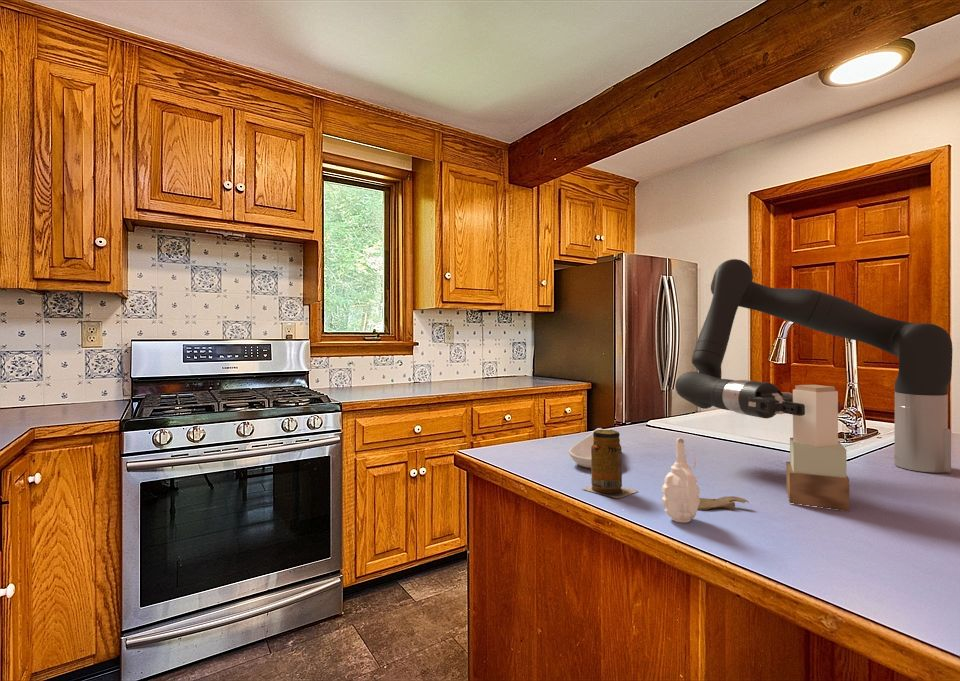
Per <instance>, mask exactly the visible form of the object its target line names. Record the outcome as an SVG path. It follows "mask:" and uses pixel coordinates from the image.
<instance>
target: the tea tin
mask: <svg viewBox="0 0 960 681" xmlns="http://www.w3.org/2000/svg"><path fill="white" fill-rule="evenodd" d="M794 387H795V388H794V389H792V394H793V402H794V403H801V404H804V405H805V415H803V416H798V415H792V438H793V442H797V443H801V444H806V445H810V446H814V447H823V446H835V445H838V441H839V413H838V402H839V395H838V394H839V391H838V390H836V386H829V385H819V384H798V385H796V384H795V386H794Z"/></svg>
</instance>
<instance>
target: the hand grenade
mask: <svg viewBox="0 0 960 681" xmlns="http://www.w3.org/2000/svg"><path fill="white" fill-rule="evenodd" d="M675 442H676V443H675V444H676V445H675V446H676V448H675V449H676V457H675V459H676V461H675V462H674V463H673V465H671V466H670V471H669V472H668V473H667V474H666V476H664V480H663V482H664V483H663V485H661V486H662V487H661V493H662V494H663V497H661V502H662V503H661V504H662V506H663V507H665V509H664V512H665V515H667V516H668V517H670V518H671V520H672V521H674V522H677V523H681V524H682V523H684V524H685V523H689V522H691V521H692V519H695V517H696V516H697V511H699V510H698V506H699V503H700V499H699V498H700V497H699V494H700V493H701V491H700V486H698V485H697V483H698V480H697V477H696V476H695V475H694V472H693V471H692V470H694V469H695V467H696V465H697V460H696V457H695V455H694V453H692V451H687V452H686V453H685V451H686V450H685V439H684V438H680V437H678V438H676V441H675ZM688 454H691V455H692V457H693V459H694V462H693V466H692V467H690V466H689V464H688V461H687V455H688ZM698 497H699V498H698Z"/></svg>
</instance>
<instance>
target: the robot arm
mask: <svg viewBox="0 0 960 681" xmlns="http://www.w3.org/2000/svg"><path fill="white" fill-rule="evenodd" d="M753 274H754V273H753V270H752V268H751V266H750V265H749V263H747V262H746V261H744V260H742V259H738V258H737V259H736V258H731V259H727V260H725V261H723V262H722V263H720V265H719V266H718V267H717V268H716V269H715V271H714V273H713V277H712V279H711V284H710V292H711V294H712V299H711V302H710V307H709V309H708V312H707V315H706V317H705V320H704V323H703V325H702V327H701V330H700V332H699V335H698V338H697V341H696V344H695V347H694V350H693V352H692V357H691V364H692V365H693V366H694V367H695V368H696V369H697V371H686V372H684V373H682V374H680V376H678V378H677V379H676V382H675V387H674V388H675V391H676V393H677V395H679V397H681V398H682V399H684V400H685V401H687V402H689V403H691V404H693V405H694V406H696V407H698V408H700V409H703V410H704V409H706V410H707V409H710V408H712V407H715V408H718V409H719V410H720V409H721V410H725V411H729V412H730V411H731V412H734V413H737V414H741V415H745V416H751V417H755V418H759V419H760V418H761V419H771V418H774V416H776V415H783V414H787V415H792V416H793V415H798V416H803V415H805V405H804V404H801V403H794V402H793V393H791V392H789V391H788V392H787V391H786V392H785V391H784V392H783V391H782V392H781V391H780V389H779V388H778V387H777V386H776V384H774V383H771V382H764V381H757V380H746V379H738V380H737V379H728V378H722V364H723V362H724V359H725V358H724V357H725V356H726V355H725V354H726V352H727V347H728V344H729V340H730V336H731V332H732V328H733V324H734V322H735V316H736V314H737V311H738V309H739V307H741V308H745V309H749V310H751V311H757V312H760V313H764V314H768V315H770V316H773V317H776V318H779V319H781V320H783V321H788V322H792V323H794V324H796V325H799V326H801V327H805V328H808V329H811V330H814V331H817V332H820V333H824V334H827V335H831V336H835V337H839V338H843V339H847V340H853V341H855V342H856V341H857V342H861V343H864V344H866V345H869V346H872V347H875V348H877V349H880V350H881V351H884V352H886V353H889V354H891V355H893V356H895V357H897V358H898V373H897V377H896V379H895V380H894V454H893V459H894V462H893V463H894V465H895V466H897V467H898V468H902V469H905V470H911V471H916V472H923V473H933V474H934V473H952V429H950V428H948V427H949V426H948V422H949V421H948V420H949V417H948V416H949V415H948V412H949V411H948V410H949V408H948V406H949V405H948V404H949V402H948V401H949V400H948V398H949V395H948V394H949V386H950V384H951V381H952V376H953V375H952V371H953V341H952V337H951V335H950V334H949V332H948V331H947V330H945V328H943V327H941V326H939V325H936V324H933V323H929V322H928V323H925V322H922V323H916V322H909V321H904V320H899V319H895V318H891V317H887V316H883V315H880V314H876V313H874V312H872V311H869V310H867V309H866V308H864V307H862V306H859V305H858V304H855V303H853V302H851V301H848V300H846V299H844V298H842V297H838V296H835V295H834V294H829V293H826V292H823V291H819V290H815V289H810V288H779V287H776V288H775V287H771V286H767V285H763V284H760V283H757V282H755V281H753V279H754V276H753ZM840 405H841V404H840V401H838V414H839V413H840Z"/></svg>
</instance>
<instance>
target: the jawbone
mask: <svg viewBox="0 0 960 681" xmlns="http://www.w3.org/2000/svg"><path fill="white" fill-rule="evenodd" d="M698 498H699V499H700V503H699V506H698V510H697V511H708V510H710V509H717V508H725V509H727V510H731V509H732V511H734V510H735V509H736V503H735V502H739V503H743V504H745V503H748V504H750V503H749V501H748V500H747V499H745V498H743V497H740V496H739V497H738V496H733V495H732V496H731V495H730V496H723V497H719V498H704V497H698Z"/></svg>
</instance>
